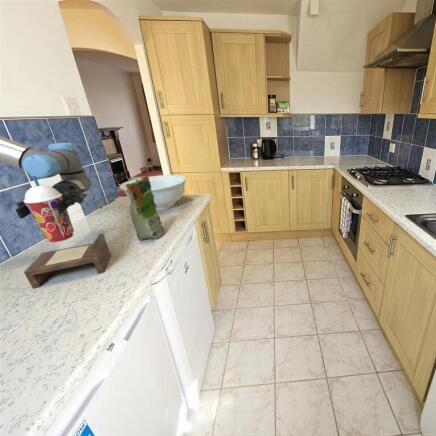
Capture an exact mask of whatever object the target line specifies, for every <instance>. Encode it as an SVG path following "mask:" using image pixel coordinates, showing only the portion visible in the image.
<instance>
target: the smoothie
mask: <svg viewBox="0 0 436 436" xmlns="http://www.w3.org/2000/svg"><path fill="white" fill-rule="evenodd" d="M31 178H32V179H33V181H34V184H35V185H34V186H31V187H30V188H29V189H27V190H26V192H25V194H24V199H23V200H22V201H24V203H25V204H26V206H27V207H28V209H29V211H30V212H31V213H30V215H31V216H32V217H33V219H34V222H35V223H36V224H37V226H38V228H39V230H40V231H41V233H42V235H43V237H44V238H45V239H46V240H48V241H49V242H50V243H60V242H64V241H66V240H69V239H71V238H72V237H74V232H75V230H74V227H73V224H72V220H71V218H70V214H69V212H68V210H67V209H68V208H67V209H66V210H65V211H63V212H62V213H59V212H58V210H57V208H56V205H55V204H56V203H58V202H59V201H61V200H62V199H63V197H62V194H61V193H59V192H58V191H57V190H56V189H54V188H53V187H52V186H49V185H44V184H40V183H39V181H38V178H36V176H31Z"/></svg>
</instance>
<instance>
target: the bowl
mask: <svg viewBox="0 0 436 436" xmlns="http://www.w3.org/2000/svg"><path fill="white" fill-rule="evenodd" d="M148 177H149V181H150V185H151V191H152V194H153V195H154V203H155V204H156V205H157V206H156V212H158V211H160V212H161V211H165V210H168V209H171V208H173V207H175V205H176V202H178V201H179V200H180V199H181V198H182V197H183V196H184V194H185V185H186V182H187V177H186V176H183V175H176V174H164V175H163V174H162V175H154V176H148ZM141 178H142V177H140V178H136V179H137V180H140V179H141ZM136 179H131V180H128V181H124V182H123V183H121V184H120V185H119V189H120V190H121V191H123V192H124V193H125V196H126V197H127V199H128V200H129V201H130V202H131V200H130V197H129V193H128V192H127V187H126V185H127V184H132V183H134V182H136Z"/></svg>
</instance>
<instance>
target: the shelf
mask: <svg viewBox="0 0 436 436" xmlns="http://www.w3.org/2000/svg"><path fill="white" fill-rule="evenodd" d="M111 256H112V252H111V250H110V247H109V244H108V243H107V240H106V236H105V234H104V233H99V234H98V235H97V237H96V239H95V240H94V242H93V243H88V244H83V245H77V246H71V247H67V248H66V247H65V248H61V249H56V250H50V251H44V252H41V253H40V254H39V255H38V257H36V258H35V259H34V260H33V262H32V263H31V264H30V265H29V266H28V267H27V268H26V269H25V270H24V271H23V273H24V275H25V277H26V280H28V281H27V282H29V285H30V286H31V287H32V289H37V288H40V287H41V286H42V285H43V283H44V282H45V281H46V279H47V278H48V277H49V275H50V274H51V273H52V272H55V271H58V270H64V269H67V268H73V267H77V266H82V265H86V264H92V263H93V264H94V267H95V270H96V272H97V274H102V273H105V271H106V268H107V266H108V264H109V261H110V260H111Z"/></svg>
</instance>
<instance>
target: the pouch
mask: <svg viewBox="0 0 436 436" xmlns="http://www.w3.org/2000/svg"><path fill="white" fill-rule="evenodd" d="M149 177H150V176H143V177H140V178H141V179H140V180H137V179H138V178H136V182H134V183H132V184H127V185H126V187H127V192H128V193H129V197H130V200H131V201H130V200H129V201H130V205H129V208H130V211H131V212H130V217H131V220H132V224H133V227H134V230H135V232H136V237H137V239H138V241H142V240H147V239H155V240H158V239H160V238H162V237H163V236H164V235H165V229H164V227H163V225H162V219H161V217H160V215H159V214H158V213H157V212H158V211H156V206H157V205H156V204H155V203H154V195H153V194H152V191H151V185H150V181H149Z"/></svg>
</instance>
